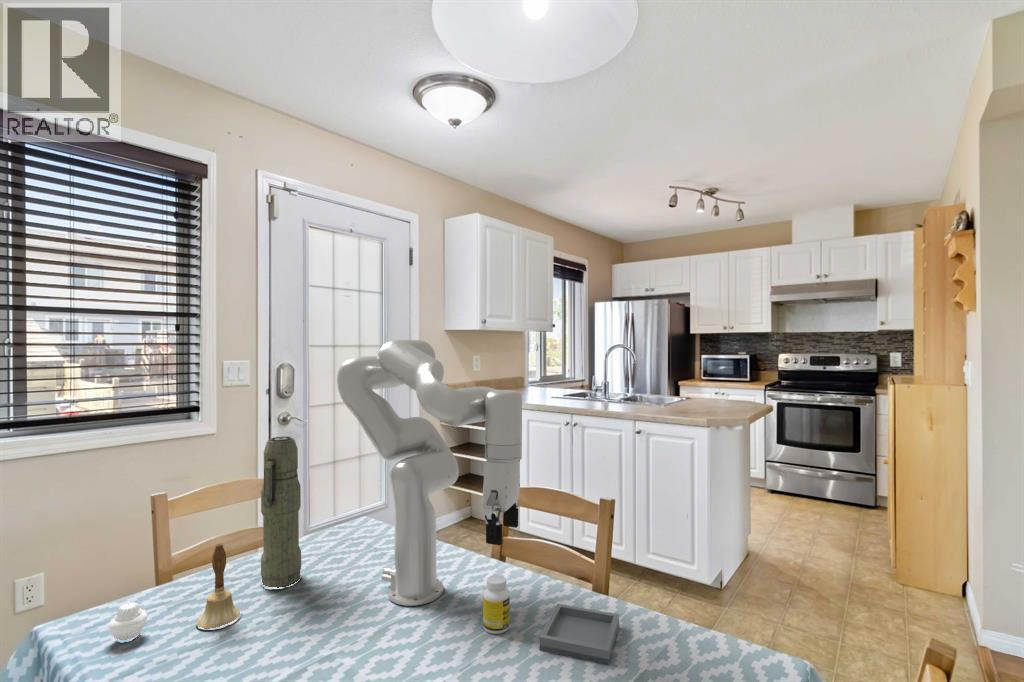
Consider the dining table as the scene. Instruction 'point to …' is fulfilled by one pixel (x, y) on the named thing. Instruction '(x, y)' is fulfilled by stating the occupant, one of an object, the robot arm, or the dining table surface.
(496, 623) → the supplement bottle
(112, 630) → the white tiered dome
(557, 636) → the tray
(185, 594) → the dining table surface
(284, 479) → the thermos
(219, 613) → the hand bell
